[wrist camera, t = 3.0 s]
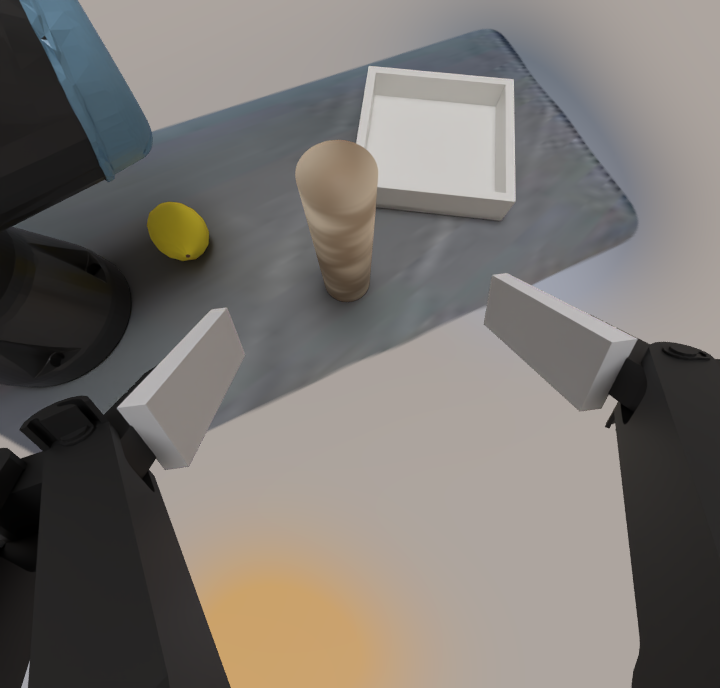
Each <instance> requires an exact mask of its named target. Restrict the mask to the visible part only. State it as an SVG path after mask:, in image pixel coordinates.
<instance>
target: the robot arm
mask: <svg viewBox="0 0 720 688" xmlns="http://www.w3.org/2000/svg"><path fill="white" fill-rule="evenodd" d="M151 148H152V132H151V129H150V126H149V123H148V121H147V120H146V117H145V115H144V114H143V112H142V110H141V108H140V106H139V104H138V102H137V101H136V99H135V97H134V95H133V94H132V92H131V90H130V88H129V86H128V85H127V83H126V81H125V79H124V78H123V76H122V74H121V73H120V71H119V69H118V67H117V66H116V64H115V62H114V61H113V59H112V57H111V55H110V54H109V52H108V50H107V49H106V47H105V45H104V44H103V42H102V40H101V39H100V37H99V35H98V33H97V32H96V30H95V28H94V27H93V25H92V23H91V22H90V20H89V18H88V17H87V15H86V13H85V12H84V10H83V8H82V7H81V5H80V3H79V2H78V0H0V384H5V385H15V386H29V387H47V386H53V385H58V384H62V383H65V382H68V381H71V380H73V379H75V378H77V377H79V376H81V375H83V374H85V373H86V372H88V371H90V370H91V369H92V368H94V367H95V366H96V365H98V364H99V363H100V362H101V361H102V360H103V359H104V358H105V357H106V356H107V355H108V354H109V353H110V352H111V351H112V350H113V348H114V347H115V346H116V344H117V343H118V341H119V340H120V338H121V336H122V335H123V332H124V330H125V328H126V325H127V323H128V319H129V315H130V309H131V296H130V290H129V287H128V284H127V281H126V279H125V278H124V276H123V274H122V273H121V272H120V270H119V269H118V268H117V267H116V266H114V265H113V264H112V263H111V262H109V261H107V260H106V259H104V258H102V257H101V256H99V255H97V254H95V253H94V252H92V251H90V250H88V249H86V248H84V247H81V246H79V245H76V244H73V243H69V242H65V241H62V240H58V239H54V238H51V237H47V236H44V235H40V234H36V233H33V232H29V231H26V230H22V229H18V228H15V227H12V226H14V225H16V224H18V223H20V222H22V221H24V220H25V219H27V218H29V217H31V216H33V215H35V214H37V213H39V212H41V211H43V210H45V209H47V208H49V207H51V206H53V205H55V204H57V203H59V202H61V201H63V200H65V199H67V198H69V197H71V196H73V195H75V194H77V193H79V192H81V191H83V190H85V189H87V188H89V187H91V186H93V185H95V184H97V183H99V182H101V181H103V180H106V181H107V182H110V181H112V180H114V175H115V174H117V173H118V172H120V171H122V170H124V169H125V168H127V167H129V166H130V165H132V164H134V163H136V162H137V161H139V160H141V159H143V158H144V157H145V156H146V155H147V154H148V153H149V152H150V150H151ZM484 325H485V326H486V327H488V328H489V329H490V330H491V331H492V332H493V333H494V334H495V335H496V336H497V337H498V338H500V339H501V340H502V341H503V342H504V343H505V344H506V345H507V346H508V347H509V348H511V349H512V350H513V351H514V352H515V353H516V354H517V355H518V356H519V357H520V358H522V359H523V360H524V361H525V362H526V363H527V364H528V365H529V366H530V367H531V368H533V369H534V370H535V371H536V372H537V373H538V374H539V375H540V376H541V377H542V378H544V379H545V380H546V381H547V382H548V383H549V384H550V385H551V386H552V387H553V388H554V389H556V390H557V391H558V392H559V393H560V394H561V395H562V396H564V397H565V399H567V400H568V401H569V402H570V403H571V404H572V405H573V406H574V407H575V408H577V409H578V410H579V411H587V410H594V409H601V408H602V406H603V404H604V403H605V401H606V399H607V397H608V395H611V396H612V397H613V398H615V399H616V400H617V401H618V403H617V405H616V407H615V408H614V410H613V412H612V414H611V416H610V417H609V420H608V421H607V423H606V426H605V427H607V428H610V426H611V424H614V423H615V424H616V433H617V442H618V451H619V460H620V469H621V477H622V486H623V495H624V504H625V512H626V521H627V530H628V538H629V548H630V556H631V565H632V574H633V583H634V591H635V600H636V609H637V617H638V627H639V636H640V649H639V656H638V659H637V662H636V665H635V668H634V671H633V678H632V688H720V359H714V358H713V357H712V356H711V355H709V354H708V353H706V352H704V351H702V350H699V349H697V348H694V347H691V346H687V345H683V344H678V343H671V342H655V343H653V344H648V343H646V342H644V341H642V340H640V339H638V338H636V337H634V336H632V335H630V334H628V333H626V332H624V331H622V330H620V329H618V328H615V327H614V326H612V325H610V324H608V323H606V322H603V321H602V320H600V319H598V318H596V317H594V316H592V315H589V314H587V313H585V312H583V311H581V310H579V309H577V308H575V307H573V306H571V305H569V304H567V303H565V302H563V301H561V300H559V299H557V298H555V297H553V296H551V295H549V294H547V293H545V292H543V291H541V290H539V289H537V288H535V287H533V286H531V285H529V284H527V283H525V282H523V281H521V280H519V279H517V278H515V277H513V276H511V275H509V274H507V273H505V274H497V275H492V278H491V284H490V290H489V296H488V302H487V308H486V314H485V320H484ZM244 356H245V353H244V350H243V347H242V345H241V342H240V340H239V337H238V334H237V332H236V329H235V326H234V324H233V321H232V319H231V316H230V313H229V311H228V308H219V309H211V310H210V311H209V312H208V313H207V314H206V315H205V317H204V318H203V319H202V320H201V321H200V322H199V323H198V324H197V325H196V326H195V327H194V328H193V329H192V330H191V331H190V332H189V333H188V334H187V335H186V336H185V337H184V338H183V339H182V340H181V342H180V343H179V344H178V345H177V346H176V347H175V348H174V349H173V350H172V351H171V352H170V353H169V354H168V355H167V356H166V357H165V358H164V359H163V360H162V361H161V362H160V363H159V364H158V365H157V366H155V367H154V368H152V369H151V370H149V371H148V372H146V373H145V374H144V375H143V376H142V377H141V378H140V379H139V380H138V381H137V382H136V383H135V385H133V386H132V387H131V388H130V389H129V390H128V393H125V394H124V395H123V396H122V397H121V398H120V399H119V400H118V401H117V402H116V403H115V404H114V405H113V406H112V407H111V408H110V409H109V410H108V411H107V412H106V413H105V414H104V415H103V414H102V413H101V412H100V410H99V409H98V408H97V407H96V406H95V404H94V403H93V402H92V401H91V400H90V399H89V397H88V396H76V397H71V398H67V399H65V400H62V401H59V402H56V403H54V404H52V405H50V406H48V407H46V408H44V409H42V410H40V411H39V412H37V413H36V414H34V415H32V416H31V417H30V418H29V419H28V420H27V421H25V422H24V423H23V425H22V426H21V428H20V431H21V432H23V433H24V434H25V435H26V436H27V437H28V438H29V439H30V440H31V441H33V442H34V443H35V444H36V445H37V446H38V447H39V448H40V449H41V450H43V451H42V452H39V453H36V454H33V455H30V456H27V457H24V458H21V459H20V458H19V457H18V456H16V455H15V454H14V453H13V452H12V451H10V450H9V449H8V448H0V688H21V686H22V683H23V679H24V677H25V673H26V670H27V667H28V664H29V661H30V668H29V682H28V688H231V687H230V684H229V682H228V679H227V676H226V673H225V671H224V668H223V665H222V662H221V660H220V657H219V654H218V651H217V648H216V645H215V643H214V640H213V638H212V635H211V632H210V629H209V626H208V623H207V621H206V618H205V615H204V612H203V610H202V607H201V604H200V601H199V599H198V596H197V593H196V590H195V587H194V584H193V582H192V579H191V576H190V573H189V571H188V568H187V565H186V562H185V560H184V557H183V554H182V551H181V548H180V546H179V543H178V541H177V537H176V535H175V532H174V529H173V526H172V523H171V521H170V518H169V515H168V513H167V510H166V507H165V504H164V502H163V499H162V496H161V493H160V490H159V487H158V485H157V482H156V479H155V476H154V475H153V474H152V473H151V471H150V470H149V468H150V467H151V465H152V464H153V462H154V461H155V459H157V460H158V462H159V463H160V464H161V465H162V467H163V468H164V469H165V470H168V469H175V468H182V467H189V466H190V464H191V462H192V460H193V457H194V456H195V454H196V452H197V450H198V448H199V446H200V444H201V441H202V440H203V438H204V436H205V434H206V432H207V430H208V428H209V426H210V424H211V422H212V420H213V418H214V416H215V414H216V412H217V410H218V408H219V406H220V404H221V402H222V400H223V398H224V396H225V394H226V392H227V390H228V388H229V386H230V384H231V382H232V380H233V378H234V376H235V374H236V372H237V370H238V368H239V366H240V364H241V362H242V360H243V358H244Z"/></svg>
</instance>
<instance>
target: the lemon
mask: <svg viewBox="0 0 720 688" xmlns="http://www.w3.org/2000/svg"><path fill="white" fill-rule="evenodd" d="M147 227H148V231H149V235H150V238H151V240H152V241H153V243H154V244H155V245H156V247H157V248H158V249H159V251H161V252H162V253H164V254H165V255H167V256H168V257H170V258H175V259H178V260H181V261H186V260H193V259H197V258H198V257H199V256H200V255H202V254H203V253H204V251H205V249H206V248H207V246H208V244H209V231H208V229H207V226H206V224H205V222H204V220H203V218H202V217H201V216H200V215H198V214H197V213H196V212H195V211H194V210H193V209H192V208H190V207H188V206H186V205H184V204H181V203H176V202H165V203H161V204H159V205H158V206H157V207H156V208H155V209H153V210H152V211H151V212H150V213H149V217H148V222H147Z"/></svg>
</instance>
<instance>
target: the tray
mask: <svg viewBox="0 0 720 688" xmlns="http://www.w3.org/2000/svg"><path fill="white" fill-rule="evenodd" d="M356 144H358V145H360V146H362V147H363V148H365V149H366V150H367V151H368V152H370V154H371V155H372V156H373V158H374V159H375V161H376V163H377V167H378V185H377V197H376V207H377V208H387V209H396V210H405V211H414V212H424V213H433V214H442V215H451V216H460V217H470V218H479V219H488V220H497V221H501V220H502V219H503V218H504V216H505V215H506V214H507V212H508V211H509V210H510V208H511V207H512V206H513V204H514V203H515V135H514V80H513V79H503V78H492V77H481V76H471V75H460V74H449V73H438V72H428V71H417V70H406V69H395V68H385V67H374V66H369V68H368V74H367V80H366V87H365V93H364V99H363V105H362V111H361V117H360V123H359V129H358V135H357V141H356Z"/></svg>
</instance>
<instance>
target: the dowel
mask: <svg viewBox="0 0 720 688" xmlns="http://www.w3.org/2000/svg"><path fill="white" fill-rule="evenodd" d="M295 177H296V182H297V186H298V190H299V193H300V197H301V200H302V204H303V208H304V211H305V215H306V218H307V222H308V226H309V229H310V233H311V236H312V240H313V244H314V247H315V251H316V254H317V258H318V262H319V265H320V269H321V272H322V276H323V279H324V283H325V287H326V289H327V291H328V293H329V294H330V295H331V296H332V297H333V298H335V299H336V300H339V301H342V302H352V301H355V300H358V299H359V298H361V297H362V296H363V295H364V294H365V293H366V292H367V290H368V288H369V284H370V272H371V259H372V247H373V234H374V222H375V210H376V197H377V185H378V167H377V163H376V161H375V159H374V158H373V156H372V155H371V154H370V152H368V151H367V150H366V149H365V148H363V147H362V146H360V145H358V144H356V143H353V142H350V141H345V140H331V141H325V142H322V143H319V144H317V145H315V146H313V147H312V148H310V149H309V150H307V151H306V152H305V153H304V154H303V155H302V157H301V158H300V160H299V162H298V164H297V167H296V172H295Z"/></svg>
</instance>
